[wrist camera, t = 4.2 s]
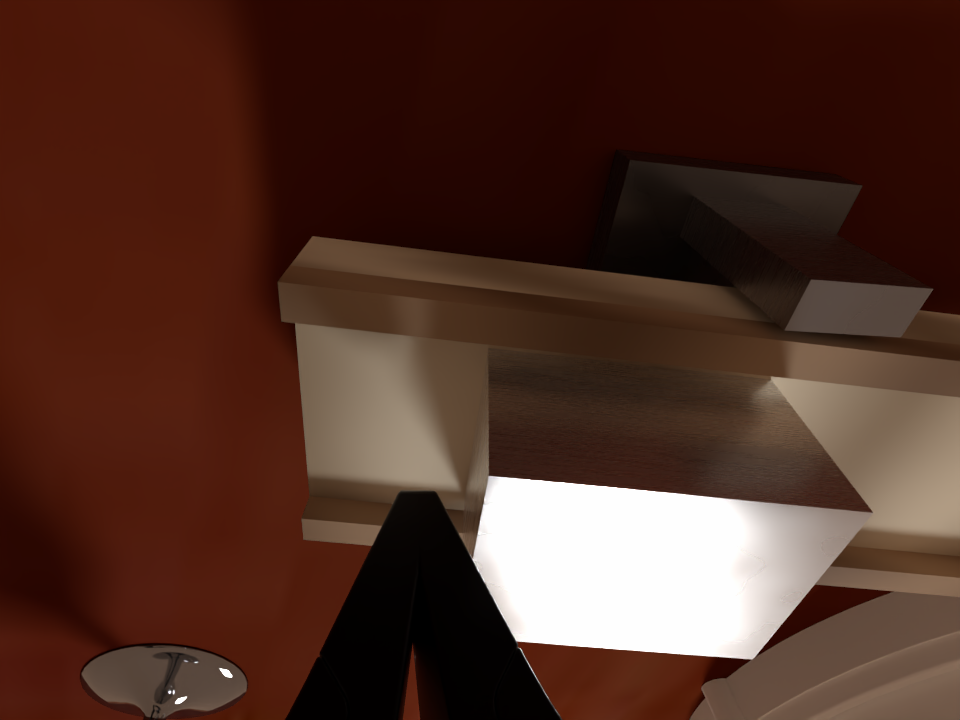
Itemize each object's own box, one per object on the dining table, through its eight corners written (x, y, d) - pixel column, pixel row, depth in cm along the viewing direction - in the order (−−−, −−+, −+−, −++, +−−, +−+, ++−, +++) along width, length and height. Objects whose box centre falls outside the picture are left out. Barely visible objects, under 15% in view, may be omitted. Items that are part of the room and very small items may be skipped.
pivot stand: (533, 470, 19) (570, 619, 14) (616, 149, 13) (727, 233, 8) (688, 472, 20) (769, 613, 15) (835, 174, 14) (1045, 262, 9)
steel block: (464, 497, 13) (458, 636, 10) (488, 347, 11) (488, 475, 8) (695, 519, 13) (753, 659, 11) (771, 379, 11) (874, 513, 8)
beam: (333, 453, 16) (303, 539, 13) (322, 222, 12) (277, 281, 9) (1077, 525, 17) (1181, 616, 14) (1293, 342, 13) (1487, 422, 10)
